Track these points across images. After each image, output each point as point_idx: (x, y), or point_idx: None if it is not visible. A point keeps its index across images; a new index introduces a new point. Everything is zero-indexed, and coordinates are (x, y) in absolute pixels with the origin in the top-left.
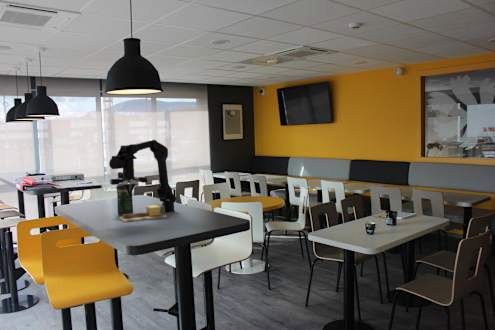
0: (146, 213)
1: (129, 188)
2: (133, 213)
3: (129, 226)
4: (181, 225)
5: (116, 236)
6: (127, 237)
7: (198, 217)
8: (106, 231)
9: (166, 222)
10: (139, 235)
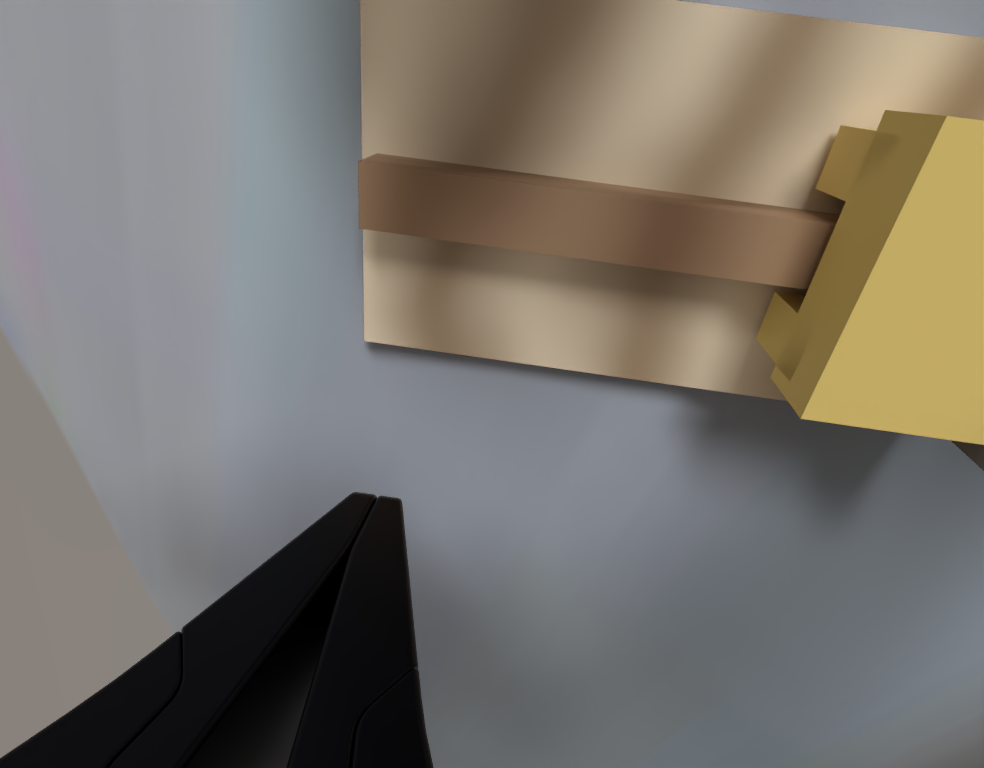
0: (755, 278)
1: (291, 754)
2: (555, 197)
3: None
4: (710, 746)
5: None
6: None
7: None
8: (170, 574)
9: (709, 619)
10: None
